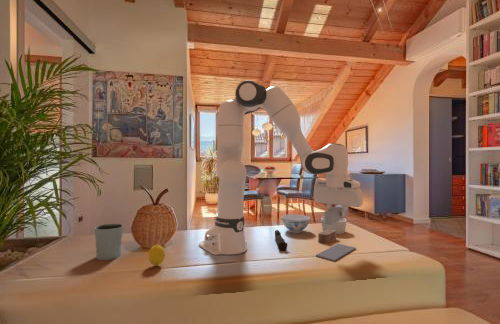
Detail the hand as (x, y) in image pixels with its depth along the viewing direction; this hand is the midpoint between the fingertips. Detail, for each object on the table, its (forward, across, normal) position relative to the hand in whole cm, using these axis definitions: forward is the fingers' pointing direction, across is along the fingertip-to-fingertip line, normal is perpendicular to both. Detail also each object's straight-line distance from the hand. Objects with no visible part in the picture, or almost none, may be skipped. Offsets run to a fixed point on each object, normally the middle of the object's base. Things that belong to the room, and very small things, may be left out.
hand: (337, 215), depth 115 cm
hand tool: (+16, -25, -8) cm, 30 cm away
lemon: (+15, -41, -59) cm, 74 cm away
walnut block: (+14, -11, +8) cm, 19 cm away
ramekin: (+16, -16, +30) cm, 37 cm away
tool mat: (+16, 0, 0) cm, 16 cm away
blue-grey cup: (+15, -64, -67) cm, 94 cm away
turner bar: (+2, 0, 0) cm, 2 cm away
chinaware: (+16, -31, +16) cm, 38 cm away
